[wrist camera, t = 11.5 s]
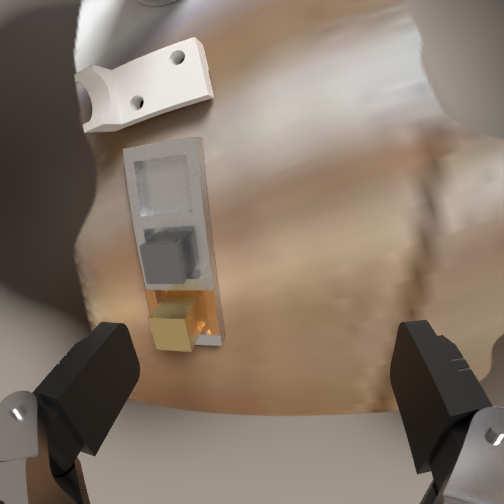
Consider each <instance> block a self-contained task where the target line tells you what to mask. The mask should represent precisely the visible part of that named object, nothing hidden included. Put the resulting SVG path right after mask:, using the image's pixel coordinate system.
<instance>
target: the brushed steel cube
mask: <svg viewBox="0 0 504 504" xmlns="http://www.w3.org/2000/svg"><path fill="white" fill-rule="evenodd" d="M139 248H140V253H141V258H142V263H143V268H144V273H145V277H146V282H147V284H184V283H185V281H186V280H187V279H188V277H189V276H190V274H191V273H192V272H193V270H194V269H195V267H196V262H195V255H194V248H193V241H192V234H191V231H181V232H164V233H156V234H155V235H153V236H152V237H151V238H149V239H148V240H147V241H145V242H144V243H143V244H142V245H140V246H139Z"/></svg>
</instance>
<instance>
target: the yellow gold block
mask: <svg viewBox="0 0 504 504" xmlns="http://www.w3.org/2000/svg"><path fill="white" fill-rule="evenodd" d="M148 320H149V323H150V327H151V331H152V334H153V338H154V342H155V345H156V348H157V350H170V351H185V352H192V350H193V348H194V346H195V344H196V341H197V339H198V337H199V335H200V333H201V330H202V328H203V326H204V324H205V319H204V314H203V308H202V302H201V296H200V292H167V293H166V295H165V296H164V297H163V299H162V300H161V301H160V303H159V304H158V305H157V307H156V308H155V309H154V311H153V312H152V313H151V315H150V316H149V317H148Z"/></svg>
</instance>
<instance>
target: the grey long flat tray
mask: <svg viewBox="0 0 504 504" xmlns="http://www.w3.org/2000/svg"><path fill="white" fill-rule="evenodd" d="M123 155H124V164H125V172H126V180H127V187H128V194H129V201H130V207H131V214H132V220H133V226H134V231H135V237H136V242H137V248H138V253H139V258H140V263H141V268H142V273H143V277H144V282H145V286H146V289H145V292H146V296H147V301H148V305H149V309H150V313H152V312H153V311H154V309H155V308H156V307H157V305H158V304H159V303H160V301H161V300H162V299H163V297H164V296H165V295H166V293H167V292H200V296H201V302H202V308H203V314H204V319H205V324H204V326H203V328H202V330H201V333H200V335H199V337H198V339H197V341H196V344H195V345H214V346H222V344H223V341H224V338H225V328H224V321H223V314H222V307H221V299H220V292H219V285H218V277H217V269H216V261H215V253H214V245H213V237H212V228H211V219H210V210H209V201H208V192H207V182H206V172H205V162H204V151H203V140H202V137H192V138H184V139H177V140H171V141H164V142H158V143H152V144H146V145H141V146H135V147H130V148H125V149H123ZM181 231H191V234H192V241H193V248H194V255H195V262H196V267H195V269H194V270H193V272H192V273H191V274H190V276H189V277H188V279H187V280H186V281H185V283H184V284H147V282H146V277H145V273H144V268H143V263H142V258H141V253H140V248H139V246H140V245H142V244H143V243H144V242H145V241H147V240H148V239H149V238H151V237H152V236H153V235H155V234H156V233H164V232H181Z"/></svg>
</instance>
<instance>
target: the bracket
mask: <svg viewBox="0 0 504 504" xmlns="http://www.w3.org/2000/svg"><path fill="white" fill-rule="evenodd" d="M183 58H185V59H184V61H183V62H182V63H181V64H180V61H181V60H182V59H183ZM208 71H209V69H208V64H207V60H206V56H205V52H204V47H203V45H202V44H201V43H200V42H199V41H198V40H197V39H196V38H195V37H193V38H190V39H187V40H184V41H181V42H178V43H176V44H173V45H170V46H167V47H165V48H162V49H159V50H157V51H154V52H152V53H149V54H147V55H144V56H142V57H139V58H137V59H135V60H132V61H130V62H128V63H126V64H123V65H121V66H119V67H117V68H115V69H113V70H110V69H106V68H103V67H100V66H96V65H91V66H89V67H87V68H85V69H84V70H82V71H80V72H78V73H76V74H75V75H74V76H75V82H77V83H79V84H81V85H82V86H83V87H84V88H85V89H86V90H87V92H88V94H89V96H90V99H91V102H92V117H91V119H90V121H89V122H87V123H85V124H83V128H84V133H87V132H116V131H118V130H120V129H123V128H125V127H128V126H131V125H133V124H136V123H138V122H141V121H144V120H146V119H149V118H152V117H155V116H158V115H161V114H163V113H166V112H169V111H172V110H175V109H179V108H182V107H185V106H188V105H191V104H195V103H198V102H201V101H205V100H208V99H212V98H214V95H213V91H212V86H211V82H210V78H209V74H208ZM142 100H144V104H143V106H142V108H140V103H141V101H142Z"/></svg>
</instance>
